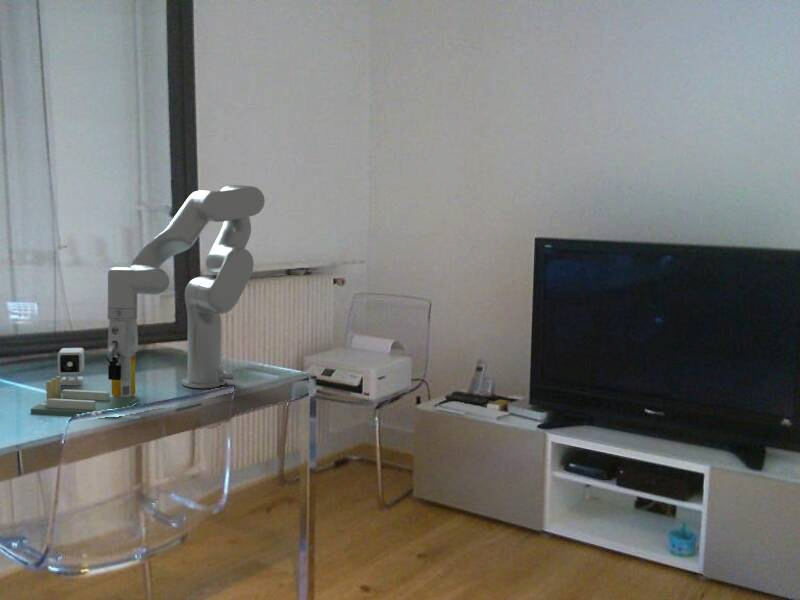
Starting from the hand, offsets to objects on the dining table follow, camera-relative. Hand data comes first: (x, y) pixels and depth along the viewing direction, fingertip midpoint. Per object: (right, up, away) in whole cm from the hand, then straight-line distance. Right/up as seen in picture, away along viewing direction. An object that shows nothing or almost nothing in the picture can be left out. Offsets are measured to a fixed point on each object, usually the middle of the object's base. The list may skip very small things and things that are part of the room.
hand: (121, 375), depth 213 cm
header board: (-5, -7, -11) cm, 14 cm away
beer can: (0, -6, +1) cm, 6 cm away
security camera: (-19, -4, +12) cm, 22 cm away
